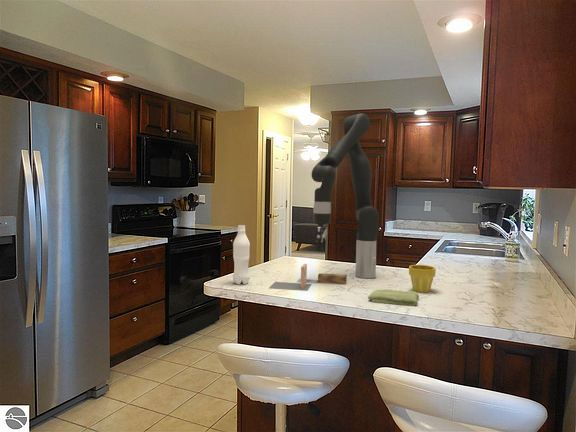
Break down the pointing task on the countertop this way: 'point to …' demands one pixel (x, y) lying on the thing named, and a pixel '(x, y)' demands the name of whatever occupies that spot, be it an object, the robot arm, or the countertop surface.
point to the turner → (329, 279)
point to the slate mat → (289, 286)
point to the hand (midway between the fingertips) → (321, 249)
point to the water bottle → (241, 256)
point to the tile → (303, 276)
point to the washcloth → (394, 297)
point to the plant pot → (422, 277)
